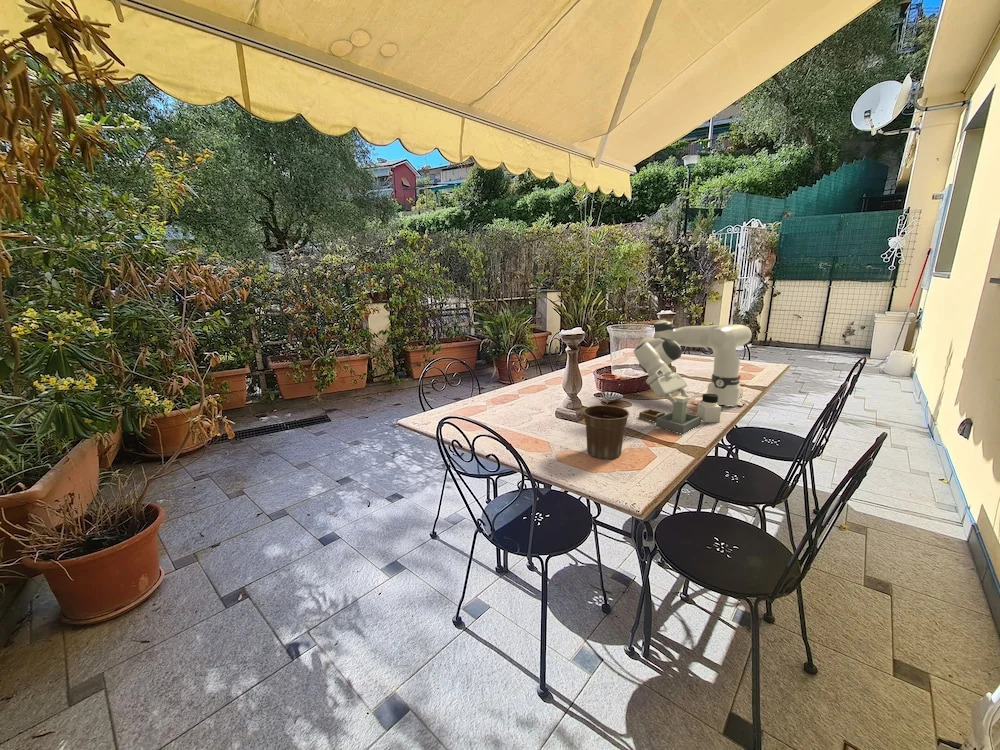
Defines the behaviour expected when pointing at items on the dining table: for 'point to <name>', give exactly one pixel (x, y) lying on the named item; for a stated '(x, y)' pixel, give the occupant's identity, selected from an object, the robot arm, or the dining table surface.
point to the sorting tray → (667, 423)
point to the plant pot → (605, 430)
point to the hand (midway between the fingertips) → (680, 400)
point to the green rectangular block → (679, 410)
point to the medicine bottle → (709, 408)
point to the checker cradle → (650, 414)
